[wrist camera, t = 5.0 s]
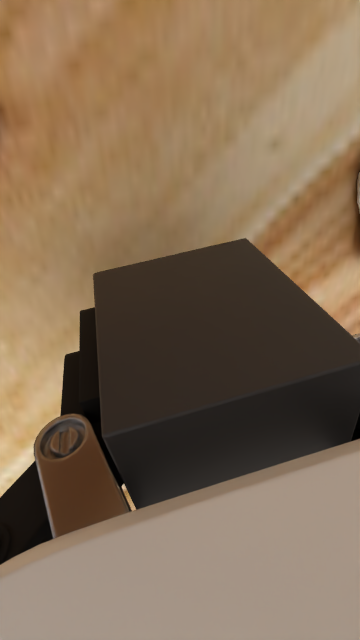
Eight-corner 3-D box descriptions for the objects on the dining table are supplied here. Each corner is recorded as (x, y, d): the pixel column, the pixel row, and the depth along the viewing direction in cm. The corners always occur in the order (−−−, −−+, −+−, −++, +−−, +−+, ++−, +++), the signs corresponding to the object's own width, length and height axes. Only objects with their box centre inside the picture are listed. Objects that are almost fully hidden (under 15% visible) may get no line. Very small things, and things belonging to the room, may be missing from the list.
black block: (246, 237, 11) (378, 357, 6) (247, 350, 14) (336, 492, 9) (92, 272, 10) (100, 437, 5) (129, 383, 13) (155, 552, 8)
